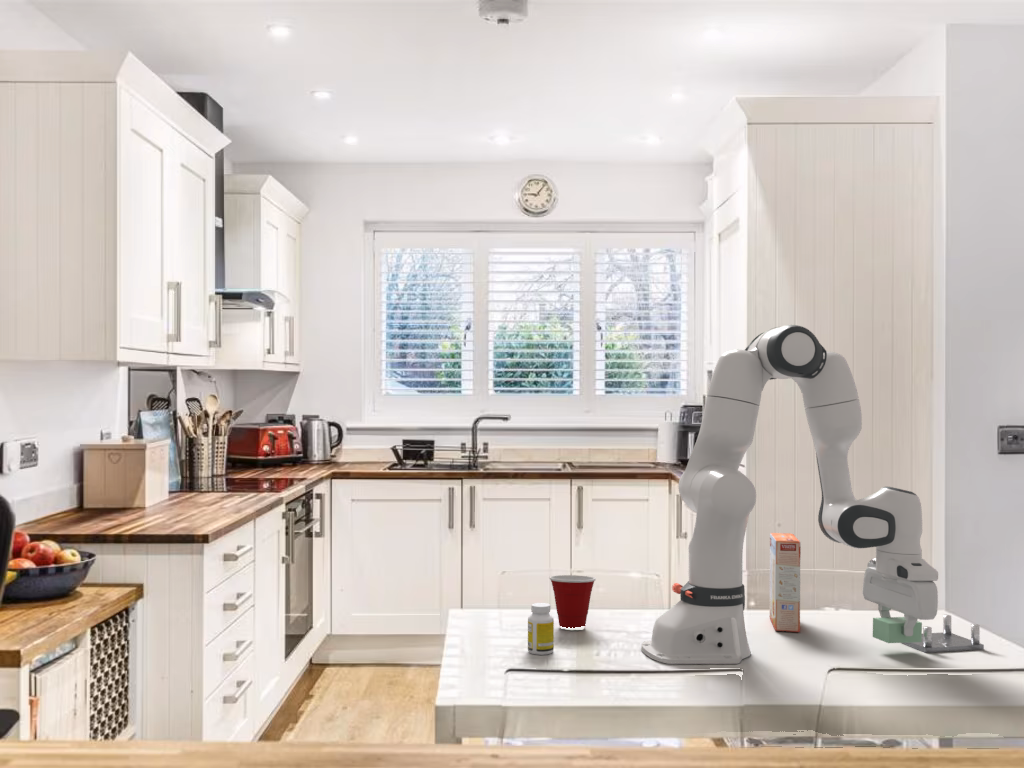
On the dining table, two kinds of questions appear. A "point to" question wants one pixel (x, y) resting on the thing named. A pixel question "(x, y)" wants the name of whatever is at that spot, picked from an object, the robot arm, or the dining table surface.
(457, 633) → the dining table surface
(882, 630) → the green rectangular block
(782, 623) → the cracker box
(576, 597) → the plastic cup
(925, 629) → the chassis
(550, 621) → the supplement bottle
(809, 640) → the dining table surface
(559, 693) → the dining table surface
